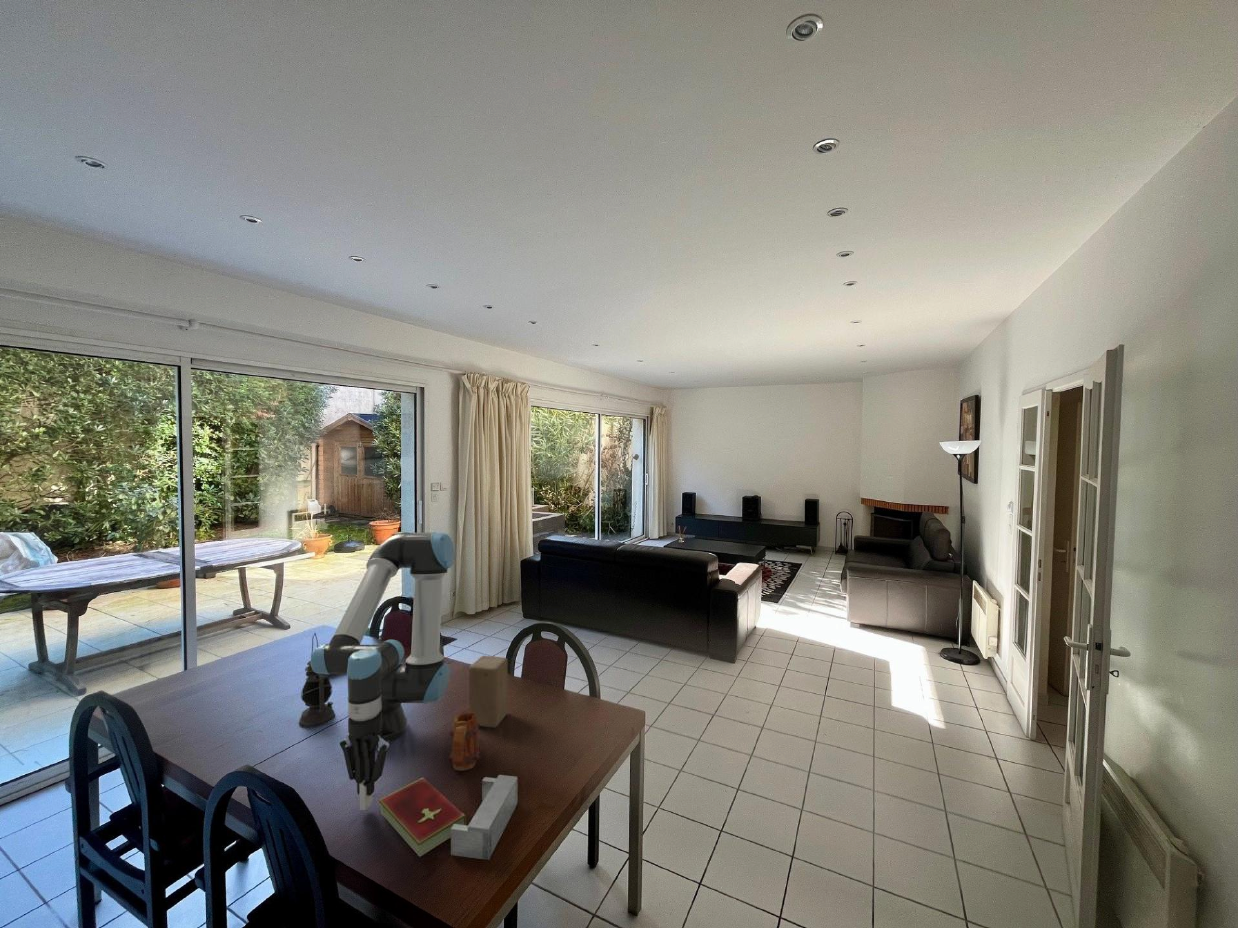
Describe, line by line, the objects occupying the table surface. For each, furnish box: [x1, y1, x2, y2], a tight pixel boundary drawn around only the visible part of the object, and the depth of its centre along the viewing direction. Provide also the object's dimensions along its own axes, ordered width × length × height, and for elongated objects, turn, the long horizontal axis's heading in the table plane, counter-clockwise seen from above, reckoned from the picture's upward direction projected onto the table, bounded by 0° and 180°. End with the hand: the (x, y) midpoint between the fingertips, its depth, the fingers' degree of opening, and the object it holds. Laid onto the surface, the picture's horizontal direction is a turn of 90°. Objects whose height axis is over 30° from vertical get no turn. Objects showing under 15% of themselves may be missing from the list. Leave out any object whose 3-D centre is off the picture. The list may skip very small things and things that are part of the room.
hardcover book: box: [378, 777, 468, 858], centre depth 122 cm, size 12×21×4 cm, turn 48°
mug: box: [448, 711, 482, 771], centre depth 141 cm, size 15×8×15 cm, turn 5°
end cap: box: [450, 774, 519, 861], centre depth 120 cm, size 9×18×7 cm, turn 171°
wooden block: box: [468, 655, 509, 728], centre depth 168 cm, size 10×10×20 cm
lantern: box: [298, 632, 336, 729], centre depth 168 cm, size 12×11×30 cm
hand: (366, 806), depth 124 cm, fingers closed
